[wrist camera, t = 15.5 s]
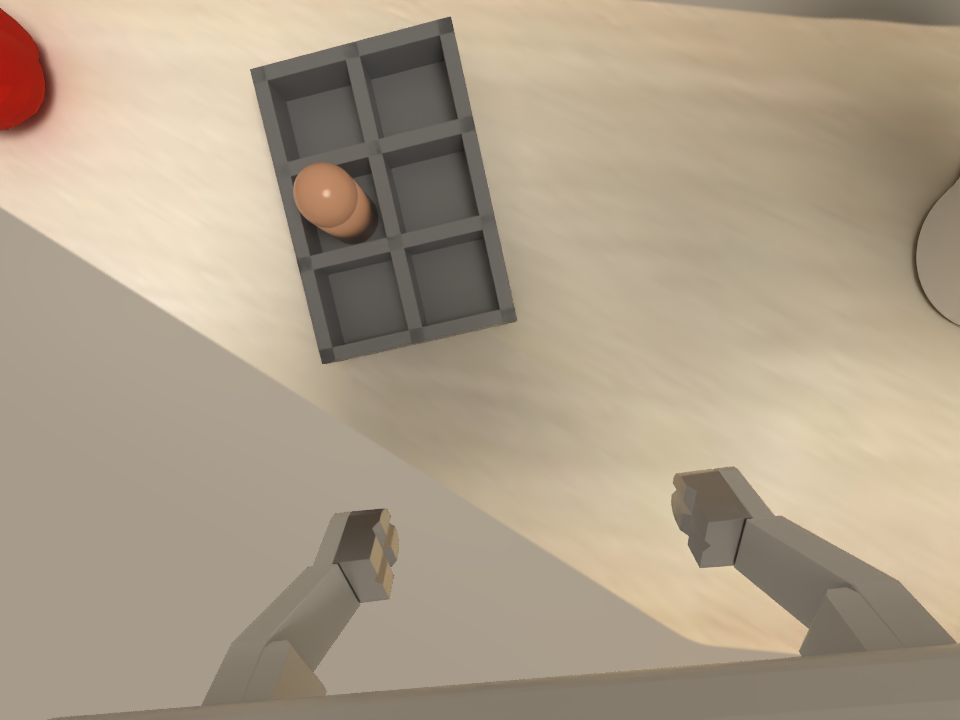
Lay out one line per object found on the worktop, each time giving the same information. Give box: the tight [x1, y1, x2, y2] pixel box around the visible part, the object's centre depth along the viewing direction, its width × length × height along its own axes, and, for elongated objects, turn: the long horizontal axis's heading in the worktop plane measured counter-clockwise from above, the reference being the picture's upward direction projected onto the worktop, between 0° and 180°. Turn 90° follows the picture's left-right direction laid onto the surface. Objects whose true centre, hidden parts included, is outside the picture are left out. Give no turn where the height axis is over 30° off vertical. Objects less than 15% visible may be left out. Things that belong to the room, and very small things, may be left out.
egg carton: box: [250, 17, 517, 364], centre depth 35 cm, size 17×25×4 cm
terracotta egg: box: [293, 162, 379, 244], centre depth 32 cm, size 5×5×8 cm
